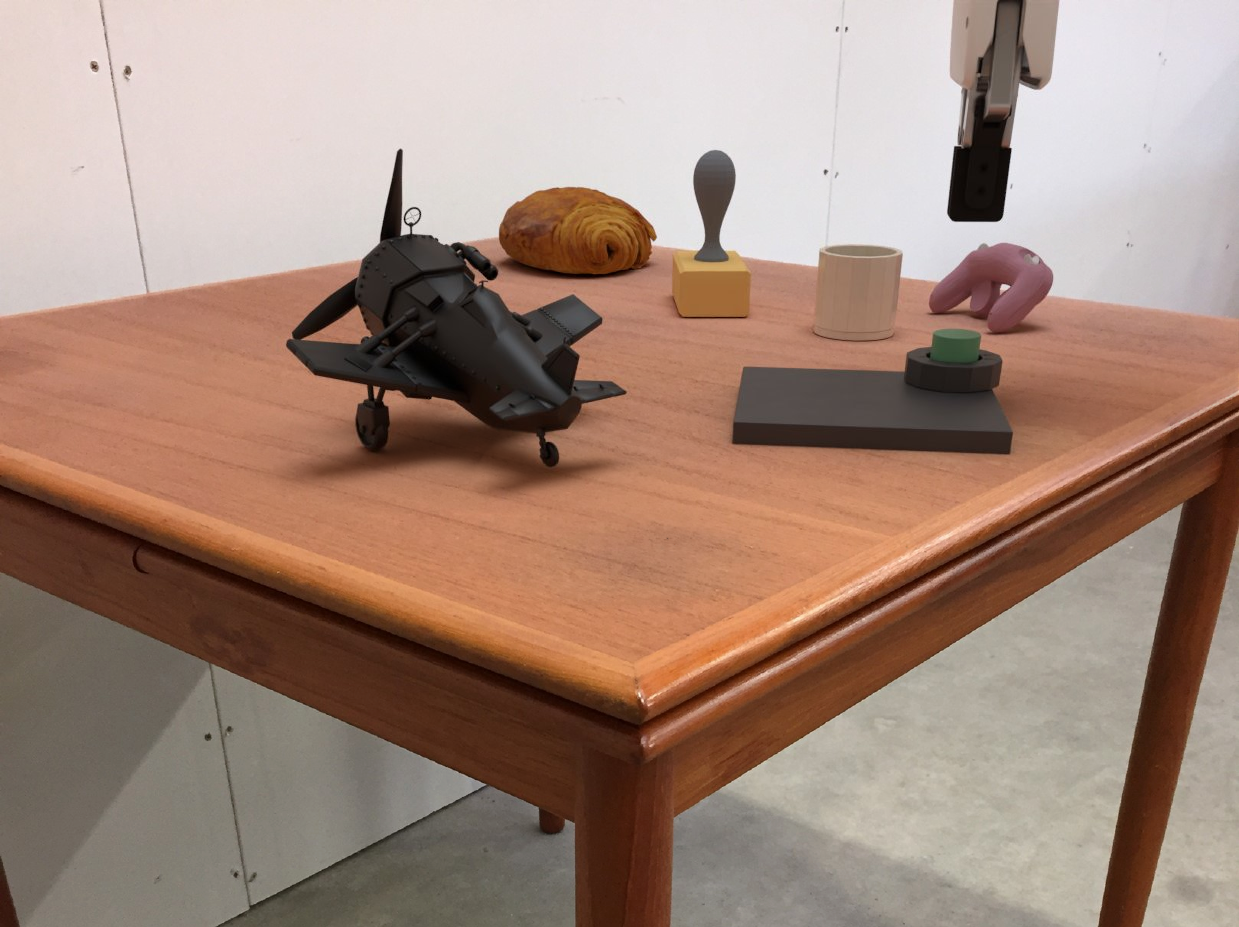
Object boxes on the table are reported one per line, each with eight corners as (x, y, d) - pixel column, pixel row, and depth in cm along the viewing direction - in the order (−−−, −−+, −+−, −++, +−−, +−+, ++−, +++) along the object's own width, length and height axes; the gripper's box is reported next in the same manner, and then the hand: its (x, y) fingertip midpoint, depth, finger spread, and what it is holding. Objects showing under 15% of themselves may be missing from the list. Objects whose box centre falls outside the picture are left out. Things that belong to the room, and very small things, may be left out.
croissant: (547, 306, 125) (548, 215, 120) (479, 257, 135) (477, 171, 130) (680, 289, 131) (687, 201, 126) (605, 242, 141) (608, 160, 136)
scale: (989, 394, 89) (995, 347, 88) (1017, 456, 77) (1026, 403, 76) (742, 385, 91) (744, 339, 89) (732, 445, 79) (734, 393, 77)
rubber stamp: (749, 317, 111) (757, 155, 104) (679, 317, 110) (683, 155, 104) (736, 295, 119) (743, 144, 113) (671, 295, 119) (675, 144, 113)
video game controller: (1028, 351, 107) (1074, 265, 105) (988, 328, 105) (1035, 240, 102) (957, 327, 115) (999, 247, 113) (919, 305, 112) (961, 222, 110)
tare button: (974, 357, 87) (978, 329, 86) (979, 368, 84) (983, 339, 84) (927, 356, 87) (931, 327, 86) (931, 366, 85) (935, 337, 84)
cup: (891, 325, 108) (900, 245, 105) (895, 342, 103) (904, 258, 100) (813, 323, 109) (819, 243, 106) (813, 339, 104) (819, 256, 100)
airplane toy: (510, 386, 90) (500, 133, 82) (711, 448, 78) (722, 158, 70) (241, 441, 79) (199, 154, 71) (426, 523, 67) (401, 188, 59)
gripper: (1116, -166, 66) (1056, 239, 75) (1065, -140, 78) (1019, 204, 88) (960, -162, 66) (921, 238, 76) (935, -137, 79) (903, 204, 89)
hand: (974, 219), depth 82 cm, fingers closed
